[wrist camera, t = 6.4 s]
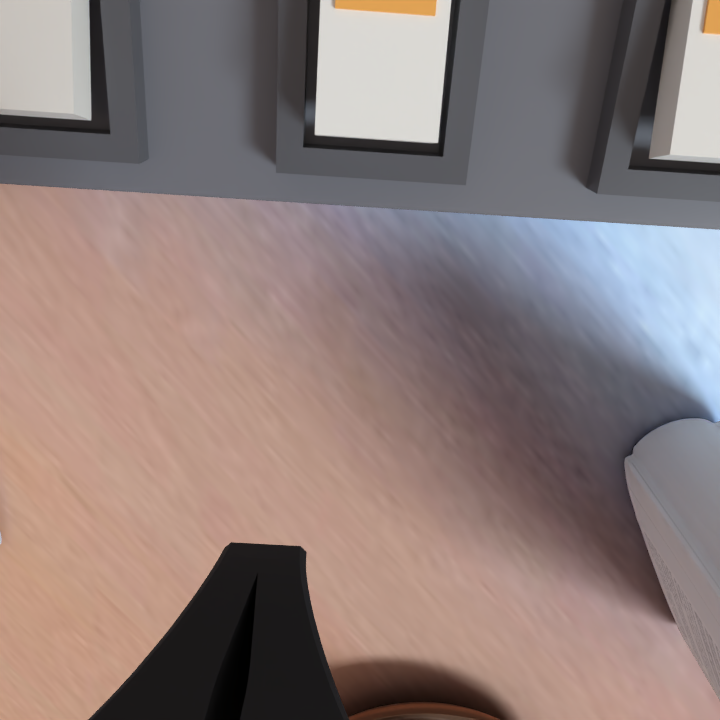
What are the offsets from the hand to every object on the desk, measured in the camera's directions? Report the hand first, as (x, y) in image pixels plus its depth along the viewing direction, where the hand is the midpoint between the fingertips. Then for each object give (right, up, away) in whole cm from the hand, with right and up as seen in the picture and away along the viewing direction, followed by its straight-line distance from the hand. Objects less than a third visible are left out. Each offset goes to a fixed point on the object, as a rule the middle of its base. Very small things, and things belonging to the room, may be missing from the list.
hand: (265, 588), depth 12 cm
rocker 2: (+10, +10, +3) cm, 14 cm away
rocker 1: (-5, +11, +2) cm, 13 cm away
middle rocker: (+2, +11, +2) cm, 11 cm away
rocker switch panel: (+5, +12, +6) cm, 14 cm away
